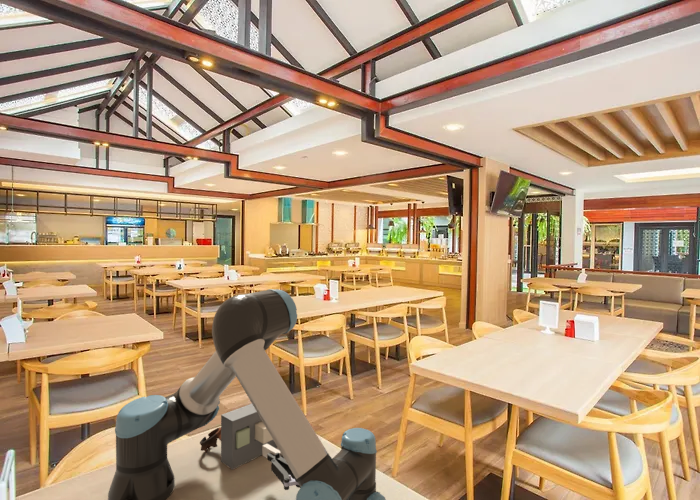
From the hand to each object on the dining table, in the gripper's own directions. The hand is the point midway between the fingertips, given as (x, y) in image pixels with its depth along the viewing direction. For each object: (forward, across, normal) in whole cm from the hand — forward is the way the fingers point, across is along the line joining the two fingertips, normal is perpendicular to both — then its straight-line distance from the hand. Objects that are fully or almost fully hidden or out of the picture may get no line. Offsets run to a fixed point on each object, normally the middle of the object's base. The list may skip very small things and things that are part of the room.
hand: (264, 449), depth 107 cm
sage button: (+12, 0, -3) cm, 13 cm away
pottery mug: (+22, 0, -9) cm, 23 cm away
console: (+13, +6, -8) cm, 17 cm away
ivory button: (+9, +6, -3) cm, 11 cm away
